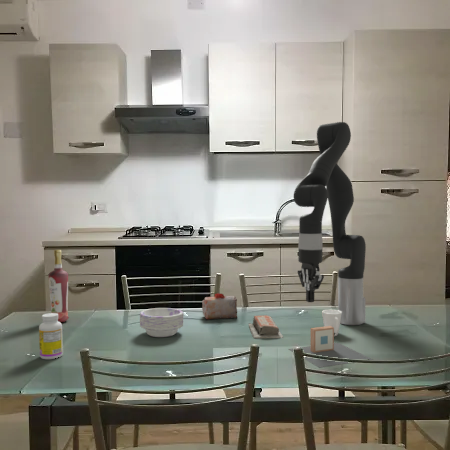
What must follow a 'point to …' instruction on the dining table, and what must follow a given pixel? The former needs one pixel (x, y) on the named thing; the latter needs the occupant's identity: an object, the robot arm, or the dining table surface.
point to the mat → (334, 355)
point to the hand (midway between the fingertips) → (310, 301)
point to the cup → (332, 319)
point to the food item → (219, 307)
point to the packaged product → (264, 328)
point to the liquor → (59, 289)
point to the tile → (322, 339)
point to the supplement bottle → (50, 337)
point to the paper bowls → (161, 321)
